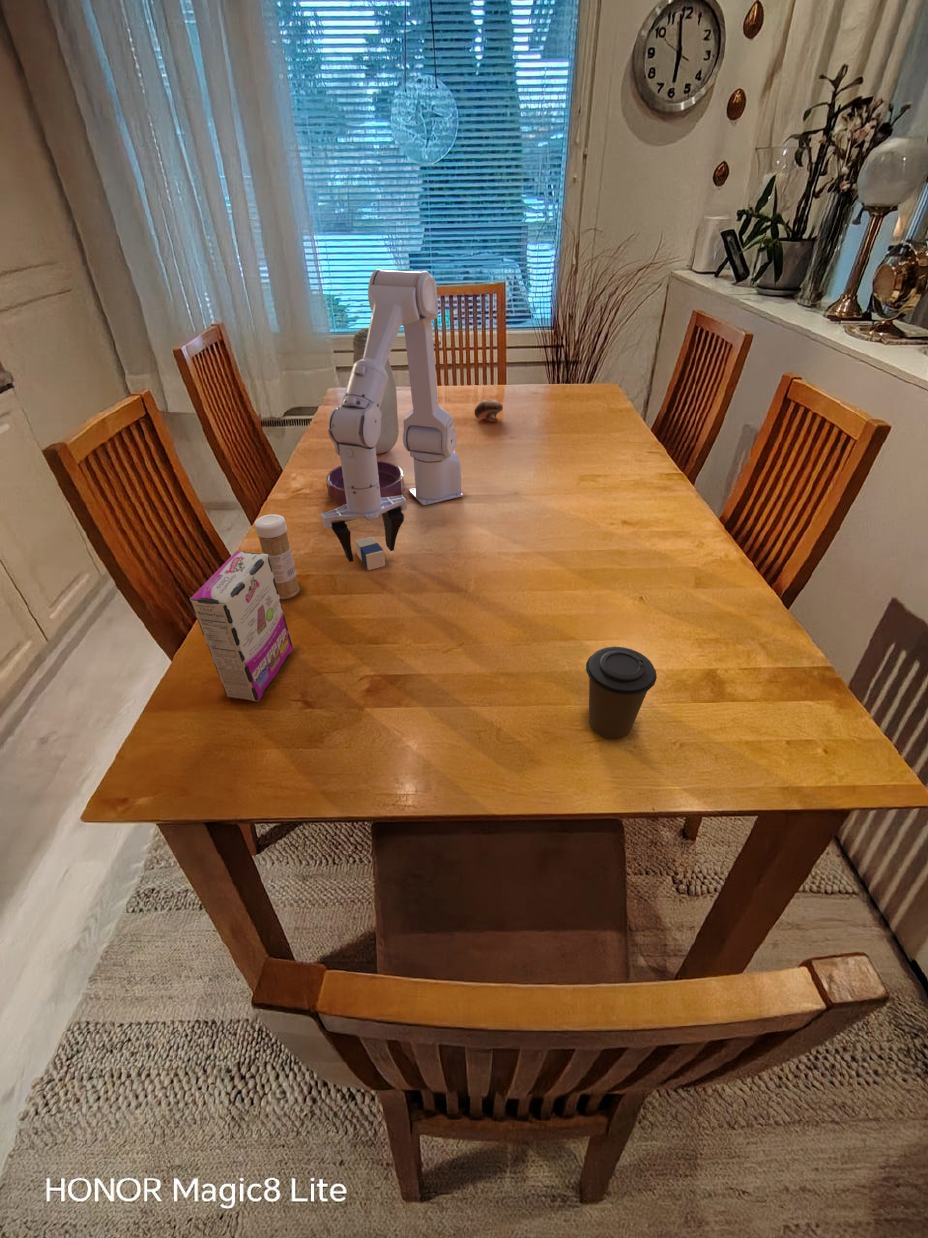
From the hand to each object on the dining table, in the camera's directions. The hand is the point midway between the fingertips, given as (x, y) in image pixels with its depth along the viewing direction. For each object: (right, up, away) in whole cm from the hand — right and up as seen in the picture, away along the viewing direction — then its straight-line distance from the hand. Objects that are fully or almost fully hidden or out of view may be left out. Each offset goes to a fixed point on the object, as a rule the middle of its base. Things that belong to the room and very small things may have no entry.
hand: (370, 553), depth 104 cm
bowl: (-4, +16, +23) cm, 28 cm away
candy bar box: (-12, -19, -23) cm, 32 cm away
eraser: (0, -1, +1) cm, 1 cm away
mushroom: (+23, +44, +60) cm, 78 cm away
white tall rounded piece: (-4, +30, +42) cm, 52 cm away
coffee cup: (+35, -25, -30) cm, 53 cm away
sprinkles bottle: (-13, -7, -7) cm, 16 cm away
